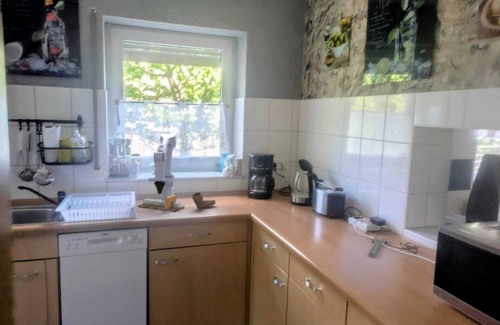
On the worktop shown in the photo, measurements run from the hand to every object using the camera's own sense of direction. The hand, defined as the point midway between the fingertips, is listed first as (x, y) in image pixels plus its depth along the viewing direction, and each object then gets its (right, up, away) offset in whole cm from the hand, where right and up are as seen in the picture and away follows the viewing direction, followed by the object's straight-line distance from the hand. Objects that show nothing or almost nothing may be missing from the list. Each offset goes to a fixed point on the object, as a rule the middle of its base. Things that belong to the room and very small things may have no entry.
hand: (159, 193), depth 209 cm
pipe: (+26, -9, +3) cm, 28 cm away
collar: (+7, -7, -2) cm, 10 cm away
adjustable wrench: (+110, -19, -57) cm, 125 cm away
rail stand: (+1, -8, +1) cm, 8 cm away
